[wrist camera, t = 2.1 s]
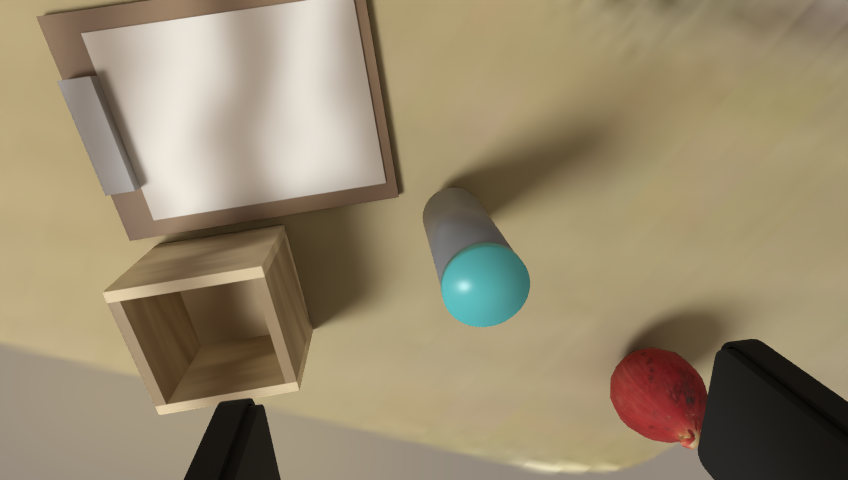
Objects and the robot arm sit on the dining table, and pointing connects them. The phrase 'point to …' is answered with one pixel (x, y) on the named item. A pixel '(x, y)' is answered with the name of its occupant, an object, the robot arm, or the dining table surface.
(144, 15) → the clipboard
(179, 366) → the wooden box
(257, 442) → the robot arm
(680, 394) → the onion
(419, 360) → the dining table surface
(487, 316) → the cylinder
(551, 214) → the dining table surface
